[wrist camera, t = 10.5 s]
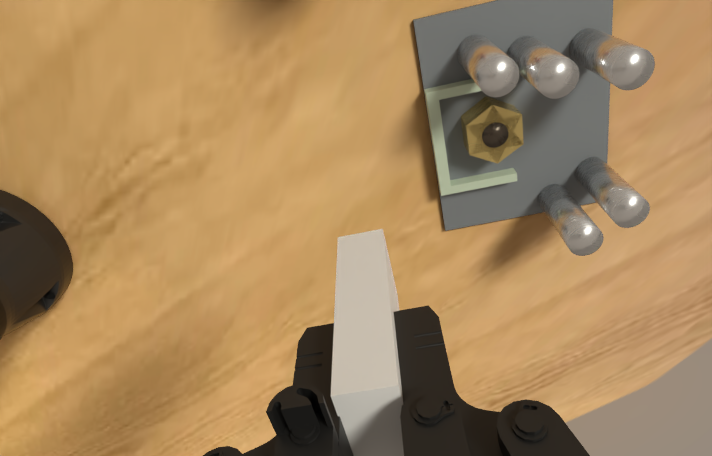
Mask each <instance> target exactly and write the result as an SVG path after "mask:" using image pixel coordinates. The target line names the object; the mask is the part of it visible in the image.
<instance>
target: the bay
mask: <svg viewBox="0 0 712 456" xmlns="http://www.w3.org/2000/svg"><path fill="white" fill-rule="evenodd" d="M478 91H482V90H481V89H480V88H479V86H478V85H477V84H476V83H475V82H474V80H473V79H469V80H464V81H460V82H455V83H450V84H446V85H441V86H437V87H432V88H428V89H424V93H425V99H426V106H427V112H428V119H429V125H430V132H431V139H432V145H433V152H434V158H435V165H436V172H437V178H438V185H439V191H440V194H441V196H443V195H449V194H454V193H459V192H464V191H469V190H474V189H479V188H484V187H489V186H494V185H499V184H505V183H510V182H515V181H517V173H516V171H515V170H514V168H510V169H505V170H500V171H494V172H489V173H484V174H479V175H474V176H469V177H464V178H459V179H454V180H450V176H449V169H448V161H447V154H446V147H445V140H444V132H443V125H442V118H441V111H440V103H439V100H441V99H446V98H450V97H455V96H460V95H464V94H469V93H473V92H478Z"/></svg>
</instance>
